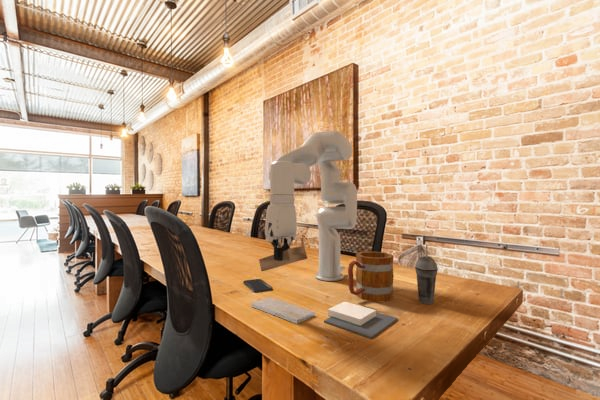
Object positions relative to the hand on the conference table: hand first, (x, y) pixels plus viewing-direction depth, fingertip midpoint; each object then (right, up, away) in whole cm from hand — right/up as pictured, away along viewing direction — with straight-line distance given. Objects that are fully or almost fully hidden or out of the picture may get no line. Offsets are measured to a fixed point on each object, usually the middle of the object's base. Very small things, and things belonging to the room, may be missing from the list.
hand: (281, 258), depth 94 cm
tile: (+17, -15, -1) cm, 23 cm away
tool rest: (0, -16, 0) cm, 16 cm away
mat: (+24, -17, -7) cm, 30 cm away
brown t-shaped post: (0, -2, 0) cm, 2 cm away
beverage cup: (+49, -17, +9) cm, 53 cm away
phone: (-11, -17, +26) cm, 33 cm away
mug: (+30, -17, +13) cm, 37 cm away
